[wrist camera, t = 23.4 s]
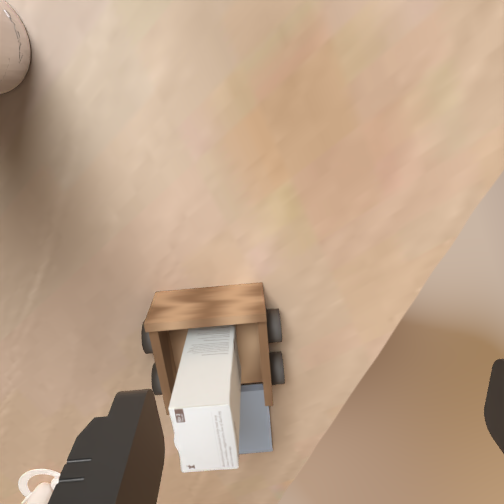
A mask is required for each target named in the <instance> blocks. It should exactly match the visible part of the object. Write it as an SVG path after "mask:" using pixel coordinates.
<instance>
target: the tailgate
mask: <svg viewBox="0 0 504 504" xmlns="http://www.w3.org/2000/svg"><path fill="white" fill-rule="evenodd" d="M269 451H273V449H272V437H271V426H270V414H269V406H265V401H264V390H263V384H252V385H241V396H240V428H239V454H247V453H258V452H269Z"/></svg>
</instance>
